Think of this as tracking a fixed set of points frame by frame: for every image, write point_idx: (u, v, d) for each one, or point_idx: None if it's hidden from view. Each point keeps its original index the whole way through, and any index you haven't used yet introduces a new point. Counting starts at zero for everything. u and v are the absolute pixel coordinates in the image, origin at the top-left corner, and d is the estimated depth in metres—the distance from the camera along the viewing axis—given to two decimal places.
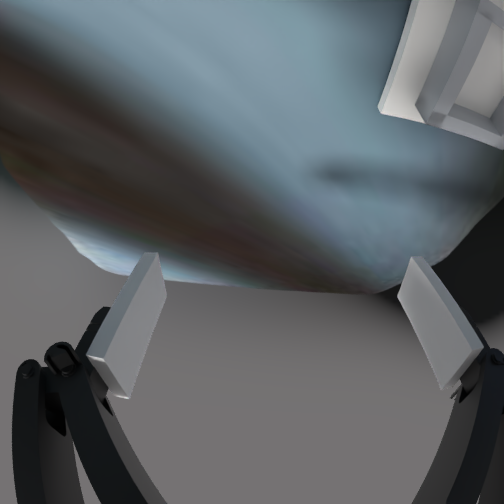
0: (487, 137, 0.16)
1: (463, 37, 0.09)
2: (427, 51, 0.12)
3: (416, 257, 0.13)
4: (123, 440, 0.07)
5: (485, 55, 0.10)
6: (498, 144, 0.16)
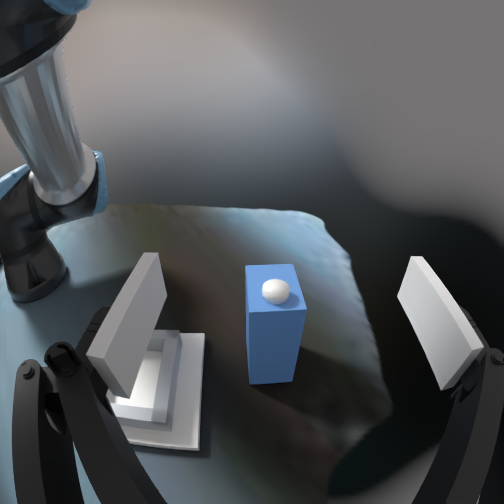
0: (136, 413, 0.22)
1: None
2: None
3: (416, 256, 0.13)
4: (123, 440, 0.07)
5: None
6: (154, 417, 0.22)
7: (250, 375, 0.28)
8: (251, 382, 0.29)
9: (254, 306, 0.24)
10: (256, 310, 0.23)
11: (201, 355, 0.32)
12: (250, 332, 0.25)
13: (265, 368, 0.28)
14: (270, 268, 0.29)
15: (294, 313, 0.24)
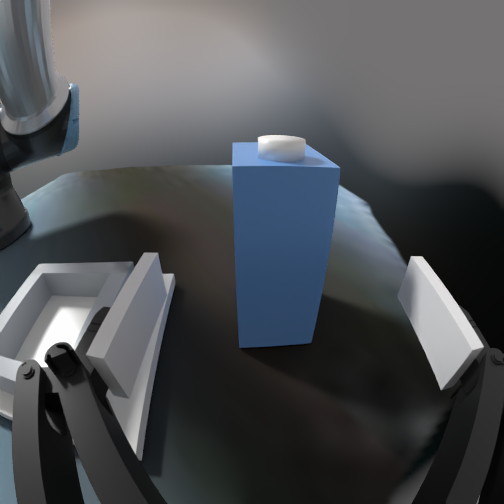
0: None
1: None
2: None
3: (416, 257, 0.13)
4: (123, 440, 0.07)
5: (60, 323, 0.17)
6: None
7: (240, 327, 0.17)
8: (243, 344, 0.18)
9: (243, 162, 0.12)
10: (246, 164, 0.12)
11: None
12: (236, 219, 0.13)
13: (265, 312, 0.16)
14: None
15: (317, 176, 0.12)
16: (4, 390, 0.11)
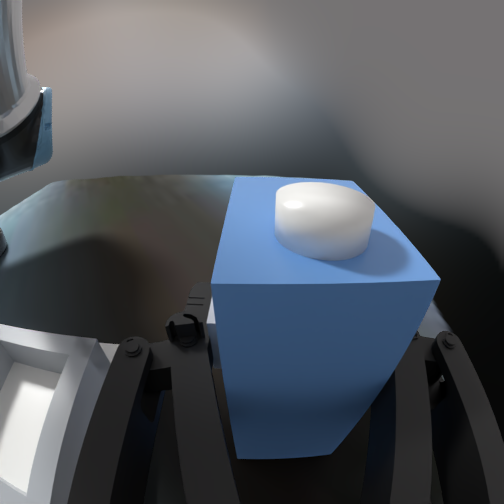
0: (2, 494, 0.04)
1: None
2: None
3: None
4: (221, 421, 0.08)
5: (23, 405, 0.11)
6: None
7: (238, 448, 0.10)
8: (242, 457, 0.11)
9: (240, 263, 0.06)
10: (245, 275, 0.05)
11: None
12: (226, 364, 0.07)
13: (273, 441, 0.10)
14: (299, 182, 0.11)
15: (396, 299, 0.05)
16: None
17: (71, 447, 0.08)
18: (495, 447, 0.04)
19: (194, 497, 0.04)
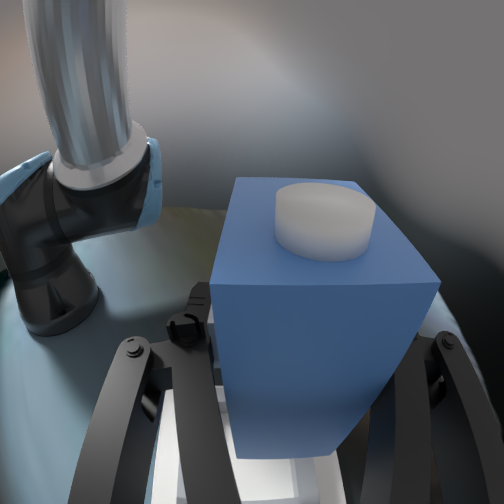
0: None
1: None
2: (176, 461, 0.18)
3: None
4: None
5: None
6: None
7: (237, 448, 0.10)
8: (241, 457, 0.11)
9: (239, 263, 0.06)
10: (244, 276, 0.05)
11: None
12: (224, 364, 0.07)
13: (272, 441, 0.10)
14: (300, 183, 0.11)
15: (396, 300, 0.05)
16: None
17: None
18: (495, 447, 0.04)
19: (195, 497, 0.04)
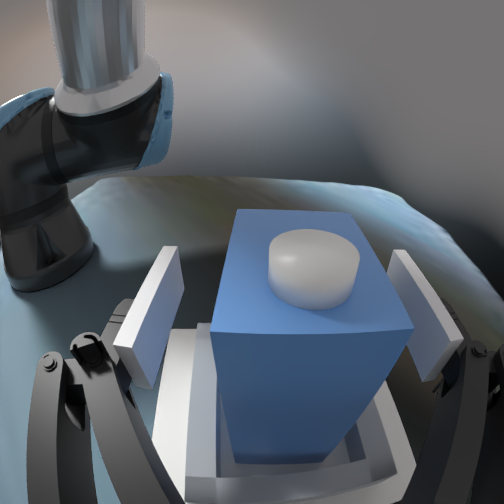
0: (339, 478, 0.09)
1: None
2: (182, 426, 0.14)
3: (398, 250, 0.13)
4: (145, 433, 0.07)
5: None
6: (375, 472, 0.09)
7: (235, 455, 0.11)
8: (240, 462, 0.12)
9: (235, 311, 0.07)
10: (238, 324, 0.06)
11: None
12: (223, 389, 0.07)
13: (267, 449, 0.10)
14: (297, 216, 0.11)
15: (372, 344, 0.06)
16: None
17: None
18: None
19: None
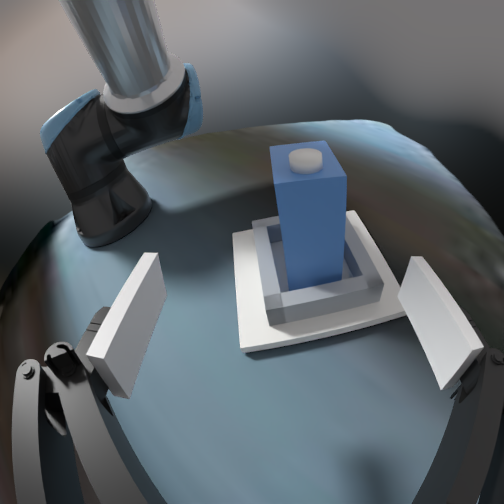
0: (348, 285, 0.23)
1: (255, 246, 0.29)
2: (254, 282, 0.28)
3: (416, 256, 0.13)
4: (123, 440, 0.07)
5: None
6: (370, 282, 0.22)
7: (289, 281, 0.25)
8: None
9: (280, 178, 0.19)
10: (283, 180, 0.18)
11: (364, 227, 0.31)
12: (280, 214, 0.20)
13: (305, 270, 0.24)
14: (299, 145, 0.23)
15: (331, 183, 0.18)
16: (293, 320, 0.24)
17: None
18: None
19: None
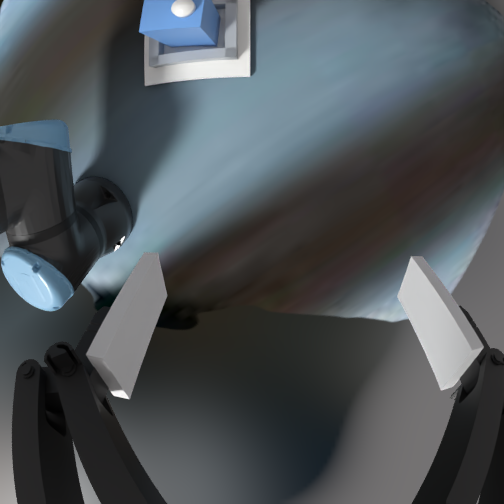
0: (231, 12, 0.26)
1: (176, 62, 0.31)
2: (200, 66, 0.33)
3: (416, 257, 0.13)
4: (123, 440, 0.07)
5: None
6: (233, 1, 0.25)
7: (215, 43, 0.29)
8: (216, 44, 0.31)
9: (194, 23, 0.21)
10: (198, 22, 0.21)
11: None
12: (205, 31, 0.23)
13: (214, 31, 0.27)
14: (147, 12, 0.19)
15: None
16: (237, 45, 0.31)
17: None
18: None
19: None
